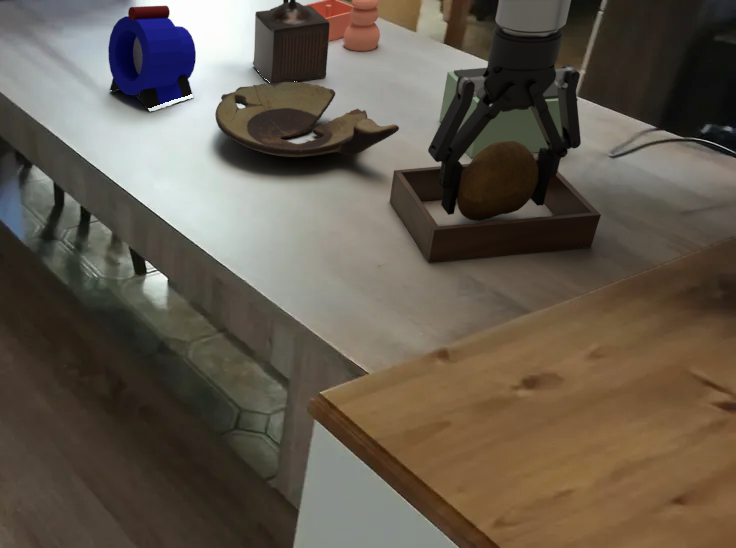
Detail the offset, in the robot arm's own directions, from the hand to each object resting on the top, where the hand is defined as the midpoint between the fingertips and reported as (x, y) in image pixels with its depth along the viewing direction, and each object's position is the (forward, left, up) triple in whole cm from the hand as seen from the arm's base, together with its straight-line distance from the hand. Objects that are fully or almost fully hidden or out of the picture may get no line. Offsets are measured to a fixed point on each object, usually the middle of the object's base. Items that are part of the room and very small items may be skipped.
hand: (491, 205), depth 119 cm
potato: (0, +1, -1) cm, 1 cm away
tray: (0, 0, -3) cm, 3 cm away
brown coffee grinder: (+59, +16, -3) cm, 61 cm away
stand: (+26, -12, -3) cm, 29 cm away
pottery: (+74, 0, -3) cm, 74 cm away
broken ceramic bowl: (+27, +19, -3) cm, 33 cm away
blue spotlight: (+54, +38, -3) cm, 66 cm away
